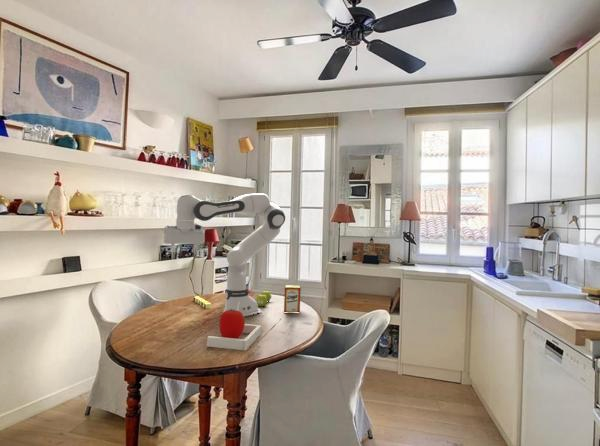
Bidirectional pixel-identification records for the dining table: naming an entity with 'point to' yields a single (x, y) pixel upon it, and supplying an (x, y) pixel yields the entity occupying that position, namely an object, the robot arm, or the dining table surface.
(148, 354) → the dining table surface
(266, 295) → the dumbbell
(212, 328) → the dining table surface
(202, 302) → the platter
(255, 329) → the white tray
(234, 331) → the red apple
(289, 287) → the baking soda box
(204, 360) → the dining table surface
